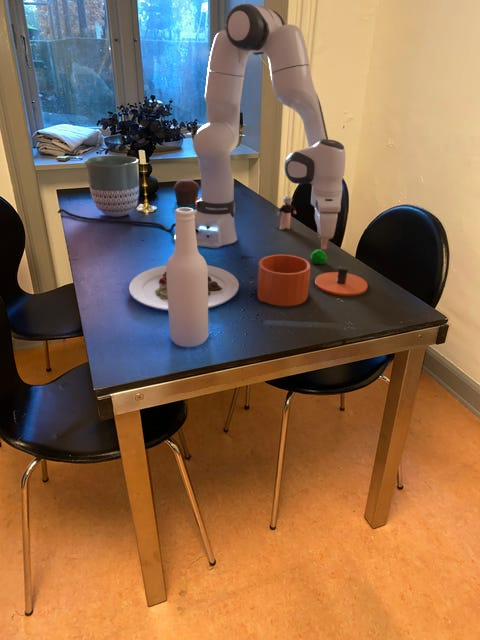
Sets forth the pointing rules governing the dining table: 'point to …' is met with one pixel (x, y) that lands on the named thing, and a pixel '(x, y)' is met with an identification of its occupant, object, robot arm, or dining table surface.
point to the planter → (113, 183)
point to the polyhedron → (318, 257)
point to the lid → (341, 283)
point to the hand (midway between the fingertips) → (321, 243)
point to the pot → (283, 280)
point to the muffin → (186, 192)
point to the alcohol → (187, 285)
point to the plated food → (154, 287)
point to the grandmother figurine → (286, 213)
